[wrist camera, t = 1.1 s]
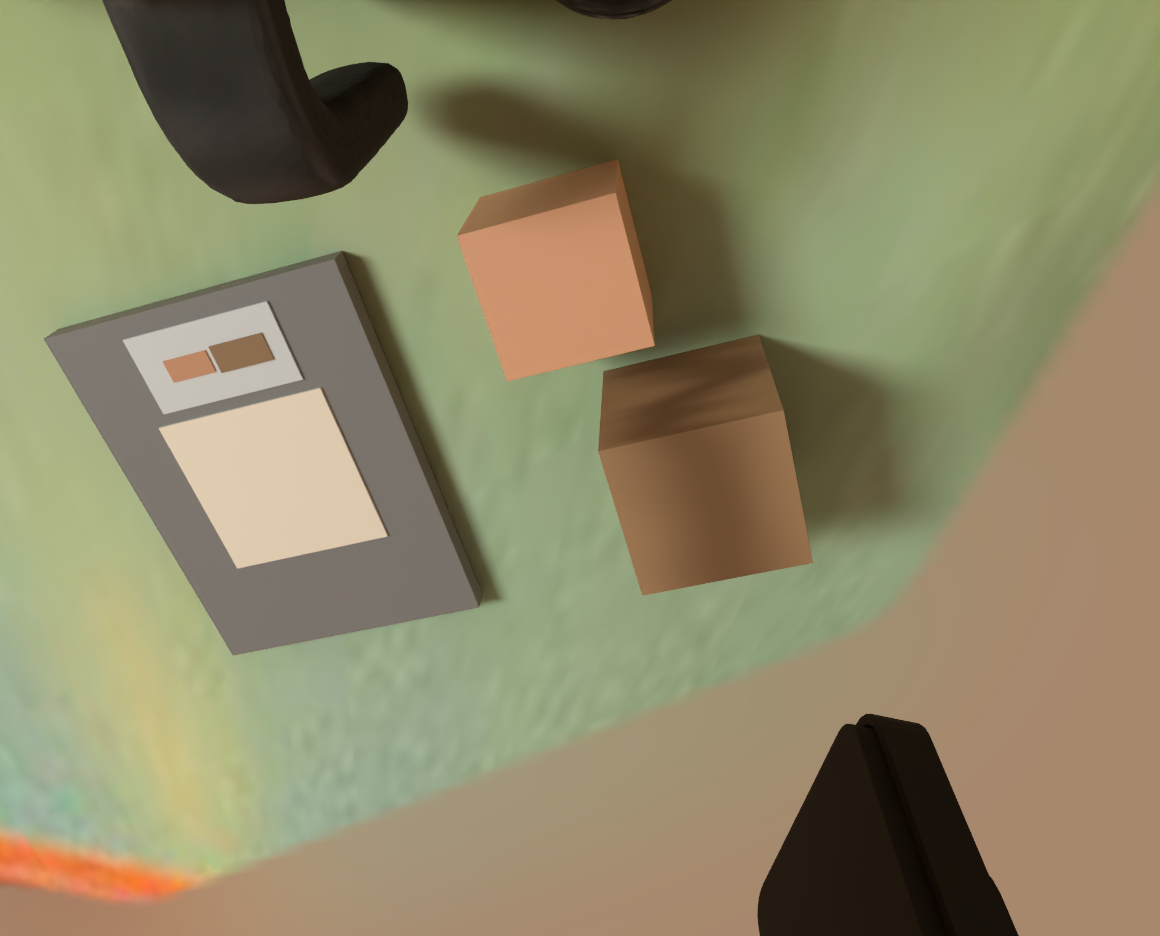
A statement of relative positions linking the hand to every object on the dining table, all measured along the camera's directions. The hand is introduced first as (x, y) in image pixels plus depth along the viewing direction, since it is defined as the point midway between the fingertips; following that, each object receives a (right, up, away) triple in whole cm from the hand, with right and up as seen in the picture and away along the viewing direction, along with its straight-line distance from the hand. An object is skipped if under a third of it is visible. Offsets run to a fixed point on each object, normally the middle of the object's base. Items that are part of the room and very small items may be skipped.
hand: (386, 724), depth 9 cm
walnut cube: (+7, +5, +27) cm, 28 cm away
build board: (-10, +3, +29) cm, 31 cm away
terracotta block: (+2, +11, +23) cm, 26 cm away
